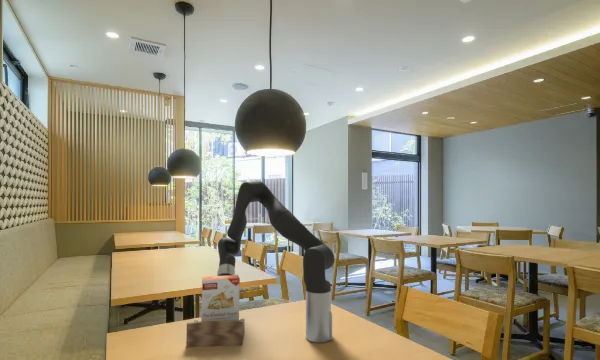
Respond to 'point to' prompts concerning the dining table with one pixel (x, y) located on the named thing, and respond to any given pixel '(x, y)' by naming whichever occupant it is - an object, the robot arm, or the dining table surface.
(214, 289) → the cracker box
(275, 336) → the dining table surface
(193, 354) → the dining table surface
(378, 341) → the dining table surface
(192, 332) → the walnut rack
